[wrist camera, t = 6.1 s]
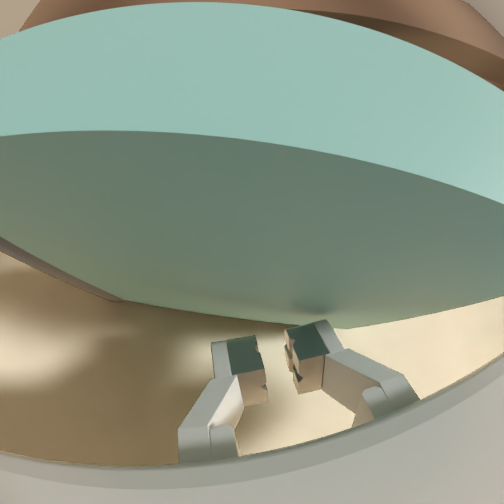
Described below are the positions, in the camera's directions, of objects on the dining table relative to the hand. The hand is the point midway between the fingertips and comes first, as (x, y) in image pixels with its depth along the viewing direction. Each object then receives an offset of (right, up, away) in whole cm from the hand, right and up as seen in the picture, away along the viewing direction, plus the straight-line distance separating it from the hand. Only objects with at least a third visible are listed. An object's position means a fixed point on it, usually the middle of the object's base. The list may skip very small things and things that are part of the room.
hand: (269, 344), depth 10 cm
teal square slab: (-2, +1, +5) cm, 6 cm away
